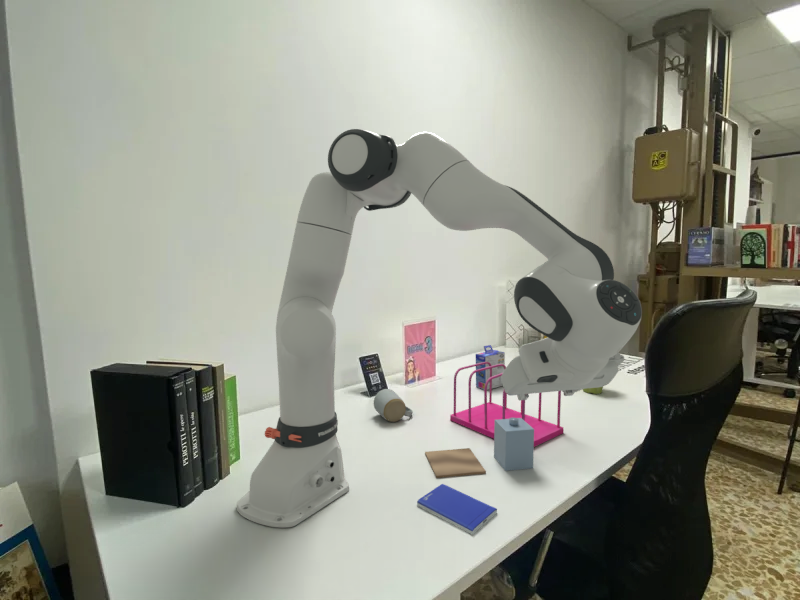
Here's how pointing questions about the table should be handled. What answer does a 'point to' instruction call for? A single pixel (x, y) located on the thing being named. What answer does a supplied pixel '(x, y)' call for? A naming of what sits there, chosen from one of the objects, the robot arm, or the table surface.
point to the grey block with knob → (513, 444)
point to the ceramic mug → (390, 405)
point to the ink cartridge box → (482, 376)
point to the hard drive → (457, 508)
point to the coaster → (454, 463)
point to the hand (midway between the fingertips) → (543, 394)
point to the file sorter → (502, 412)
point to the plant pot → (594, 390)
